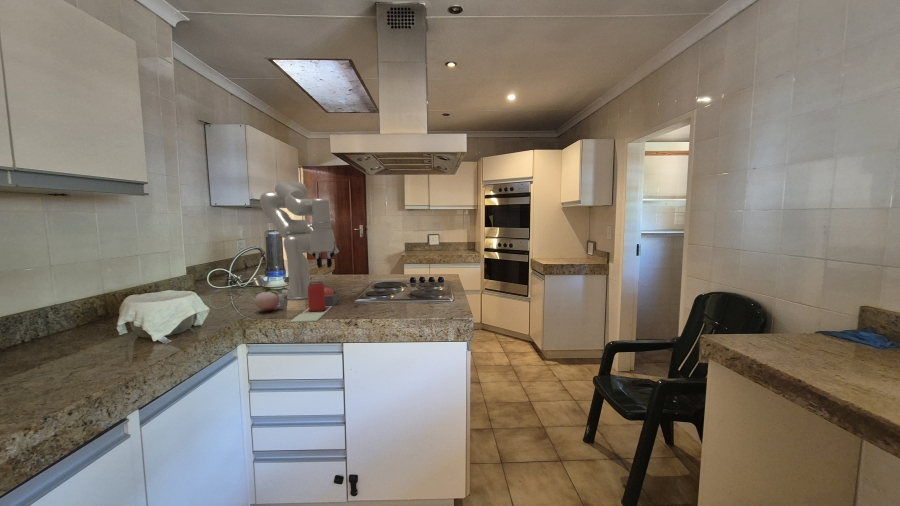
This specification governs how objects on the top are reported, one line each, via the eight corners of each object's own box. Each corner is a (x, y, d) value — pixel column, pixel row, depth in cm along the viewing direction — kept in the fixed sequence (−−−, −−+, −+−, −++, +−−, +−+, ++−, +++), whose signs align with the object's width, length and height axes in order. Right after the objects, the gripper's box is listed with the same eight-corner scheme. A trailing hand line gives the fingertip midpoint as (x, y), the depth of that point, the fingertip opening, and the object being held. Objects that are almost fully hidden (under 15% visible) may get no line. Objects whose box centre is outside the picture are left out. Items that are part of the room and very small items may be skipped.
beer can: (328, 309, 143) (326, 282, 142) (313, 313, 138) (311, 284, 137) (321, 307, 148) (319, 280, 146) (306, 310, 143) (304, 283, 141)
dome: (317, 302, 149) (316, 289, 149) (322, 299, 156) (321, 286, 155) (331, 302, 150) (330, 288, 149) (335, 298, 156) (334, 285, 155)
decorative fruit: (253, 315, 138) (251, 291, 136) (258, 310, 145) (256, 287, 144) (279, 312, 140) (277, 289, 139) (282, 307, 148) (280, 285, 147)
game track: (289, 322, 127) (288, 310, 126) (316, 302, 157) (316, 292, 156) (316, 321, 127) (315, 309, 127) (338, 301, 157) (337, 292, 157)
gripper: (299, 227, 145) (302, 269, 147) (338, 226, 146) (340, 267, 148) (306, 226, 152) (309, 266, 154) (342, 225, 153) (345, 265, 155)
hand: (324, 266), depth 151 cm, fingers open, 3 cm apart
